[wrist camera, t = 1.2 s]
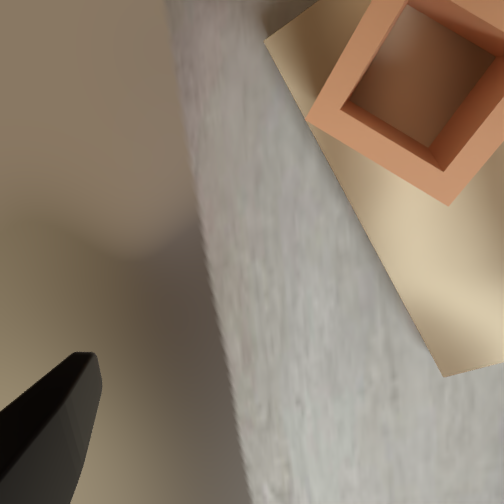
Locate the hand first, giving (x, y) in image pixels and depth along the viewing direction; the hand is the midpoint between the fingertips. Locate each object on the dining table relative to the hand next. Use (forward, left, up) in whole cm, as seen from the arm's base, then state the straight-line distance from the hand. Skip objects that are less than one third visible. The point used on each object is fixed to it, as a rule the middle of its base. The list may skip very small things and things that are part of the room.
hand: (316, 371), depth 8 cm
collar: (-5, -3, -14) cm, 15 cm away
